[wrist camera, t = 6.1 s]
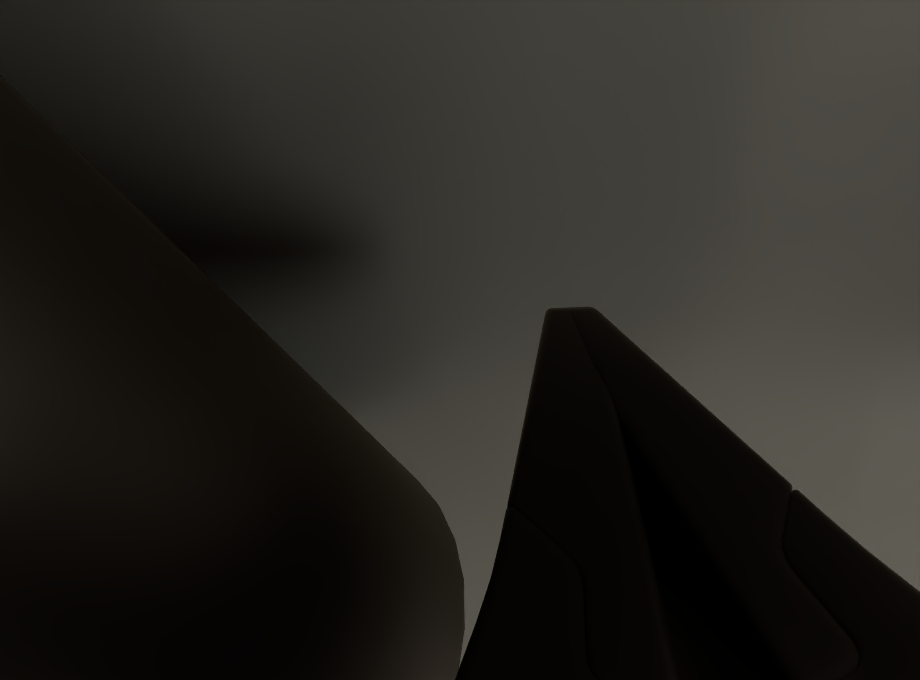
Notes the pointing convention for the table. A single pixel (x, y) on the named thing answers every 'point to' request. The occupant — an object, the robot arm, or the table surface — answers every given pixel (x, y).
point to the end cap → (184, 467)
